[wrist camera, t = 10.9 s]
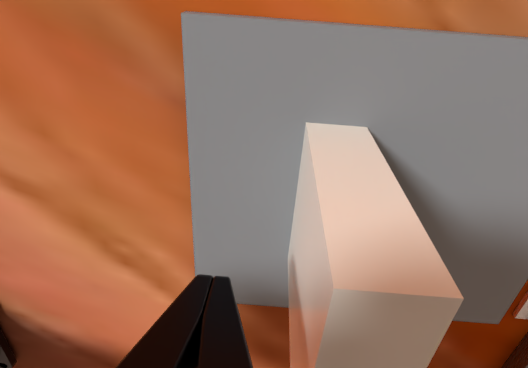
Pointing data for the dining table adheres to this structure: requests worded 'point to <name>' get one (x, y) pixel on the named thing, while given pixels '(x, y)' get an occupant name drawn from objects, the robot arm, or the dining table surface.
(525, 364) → the turner
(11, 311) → the dining table surface
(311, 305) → the tile
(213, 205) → the mat
